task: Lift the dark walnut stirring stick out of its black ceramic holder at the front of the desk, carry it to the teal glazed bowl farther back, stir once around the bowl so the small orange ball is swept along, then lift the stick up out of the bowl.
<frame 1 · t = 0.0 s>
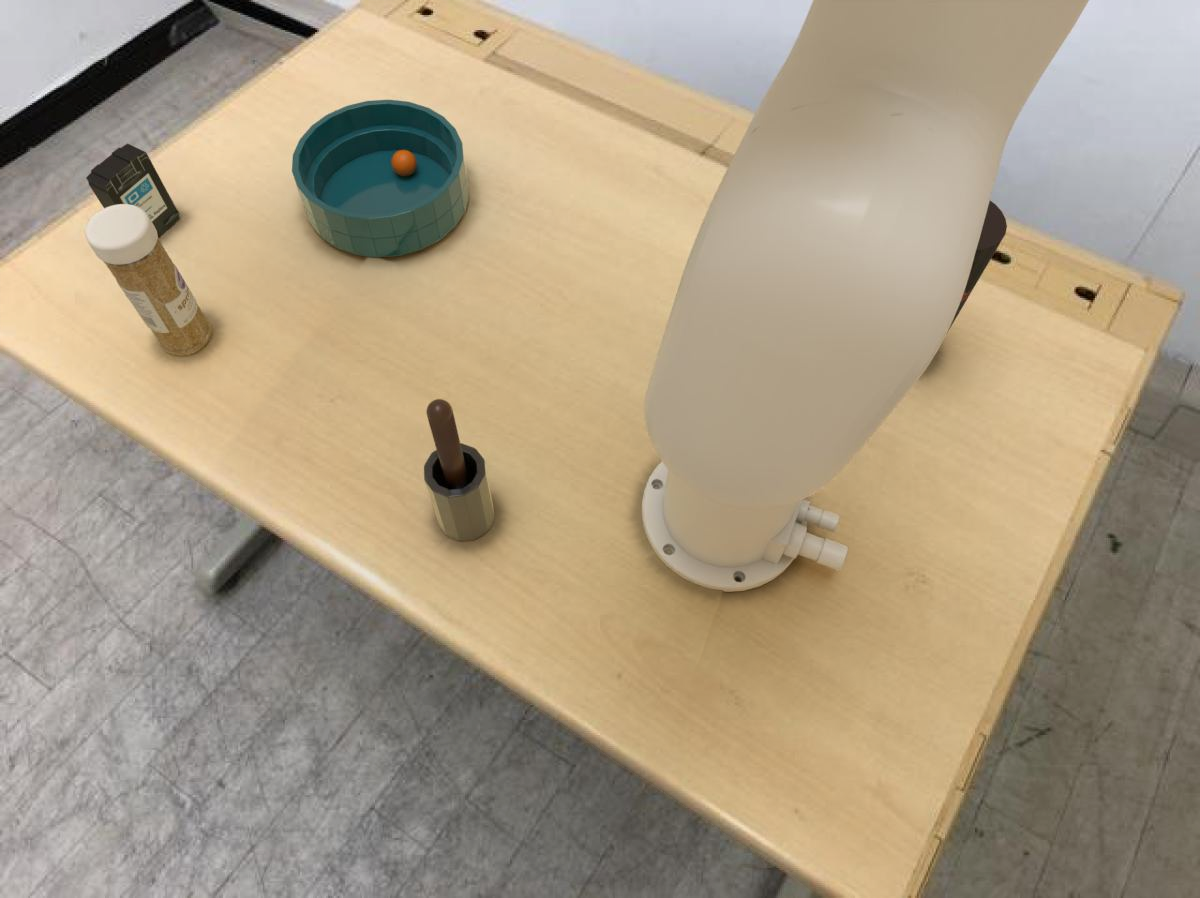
sprinkles bottle: (187, 337, 76), on the table
bowl: (389, 201, 84), on the table
holder: (467, 519, 68), on the table
deodorant: (899, 344, 77), on the table
ink cartridge: (155, 231, 82), on the table
stick: (466, 515, 67), point 1 cm above the table, touching holder
ball: (404, 163, 84), point 2 cm above the table, touching bowl
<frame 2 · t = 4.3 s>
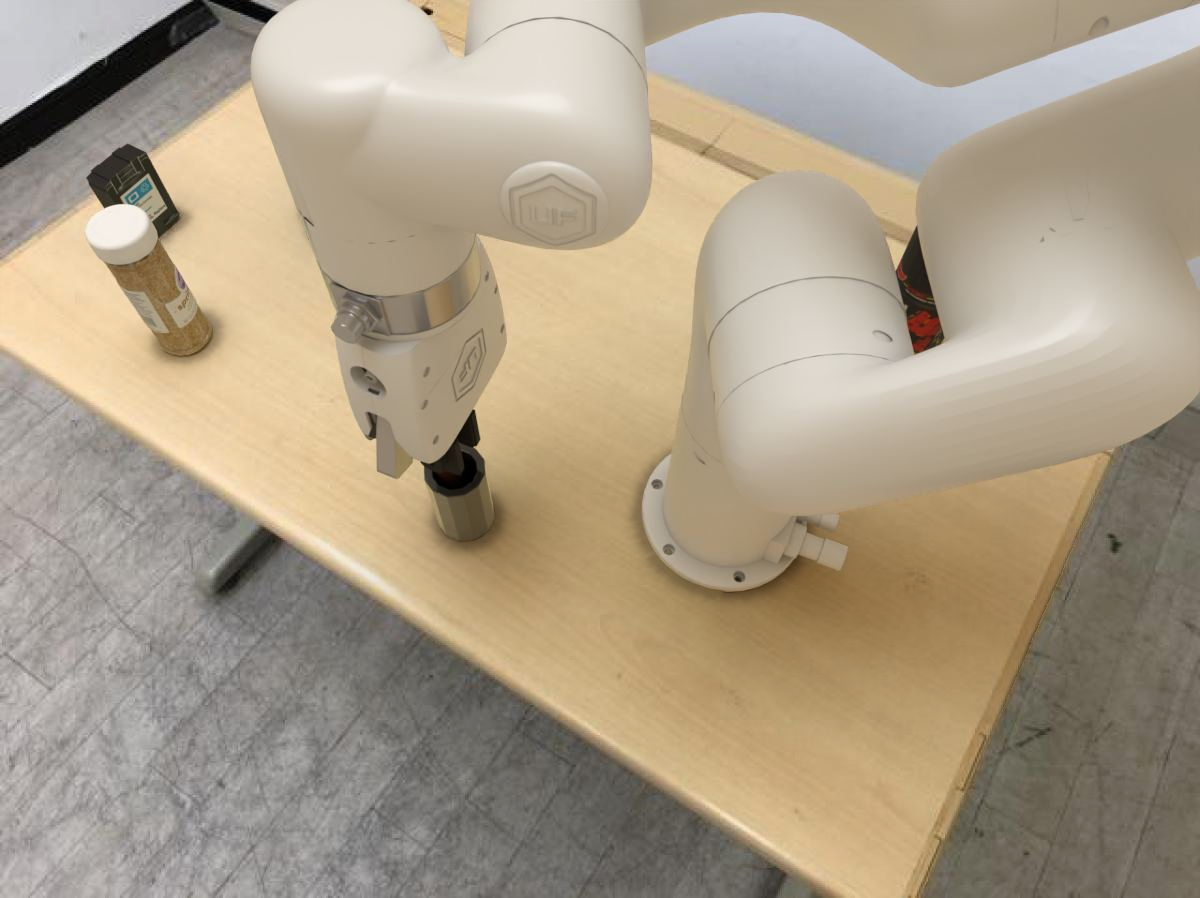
hand: (449, 449, 59), 11 cm above the table, tool pointing down, fingers closed on stick, 1 cm apart
stick: (466, 515, 67), point 1 cm above the table, tilted 5°, touching gripper, holder
everything else where it was.
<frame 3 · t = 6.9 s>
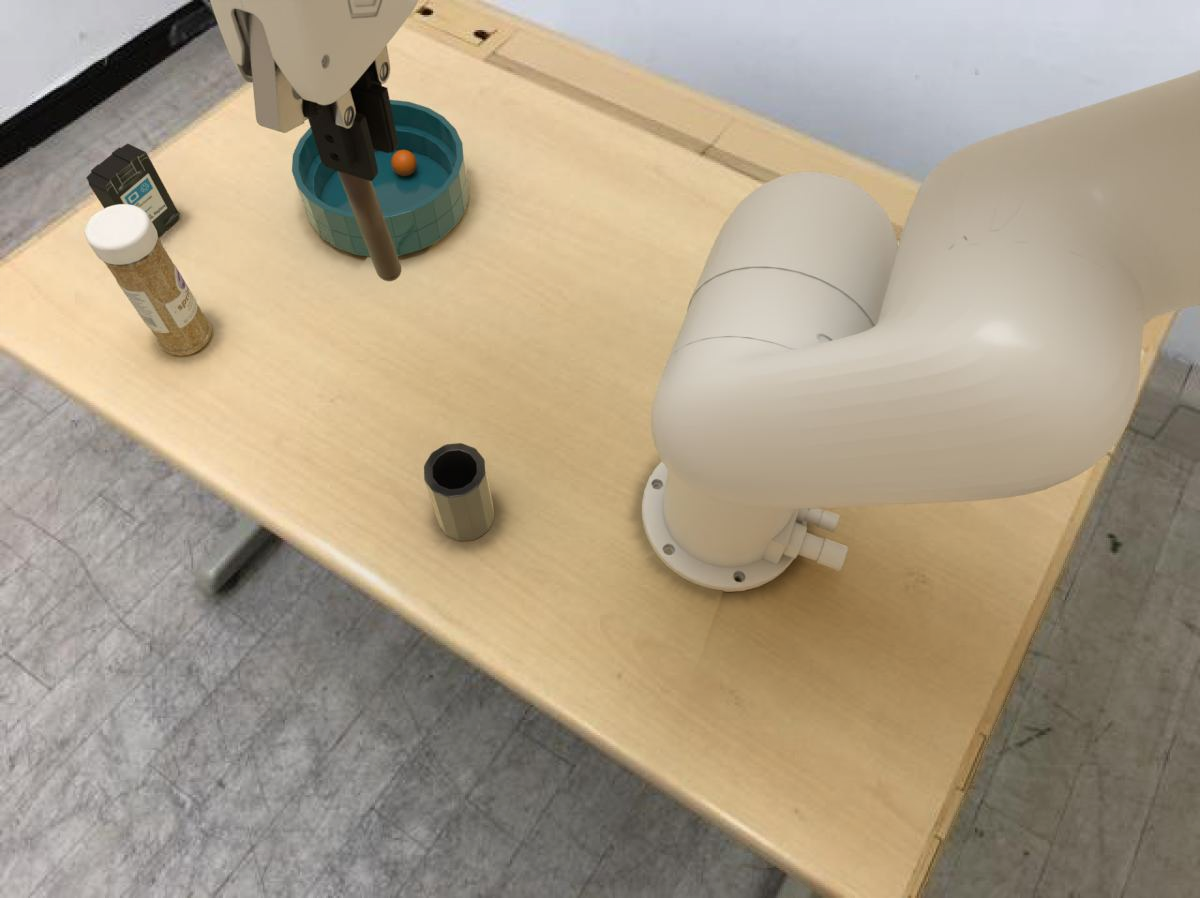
hand: (361, 155, 49), 27 cm above the table, tool pointing down, fingers closed on stick, 1 cm apart
stick: (391, 277, 57), point 17 cm above the table, touching gripper
everything else where it was.
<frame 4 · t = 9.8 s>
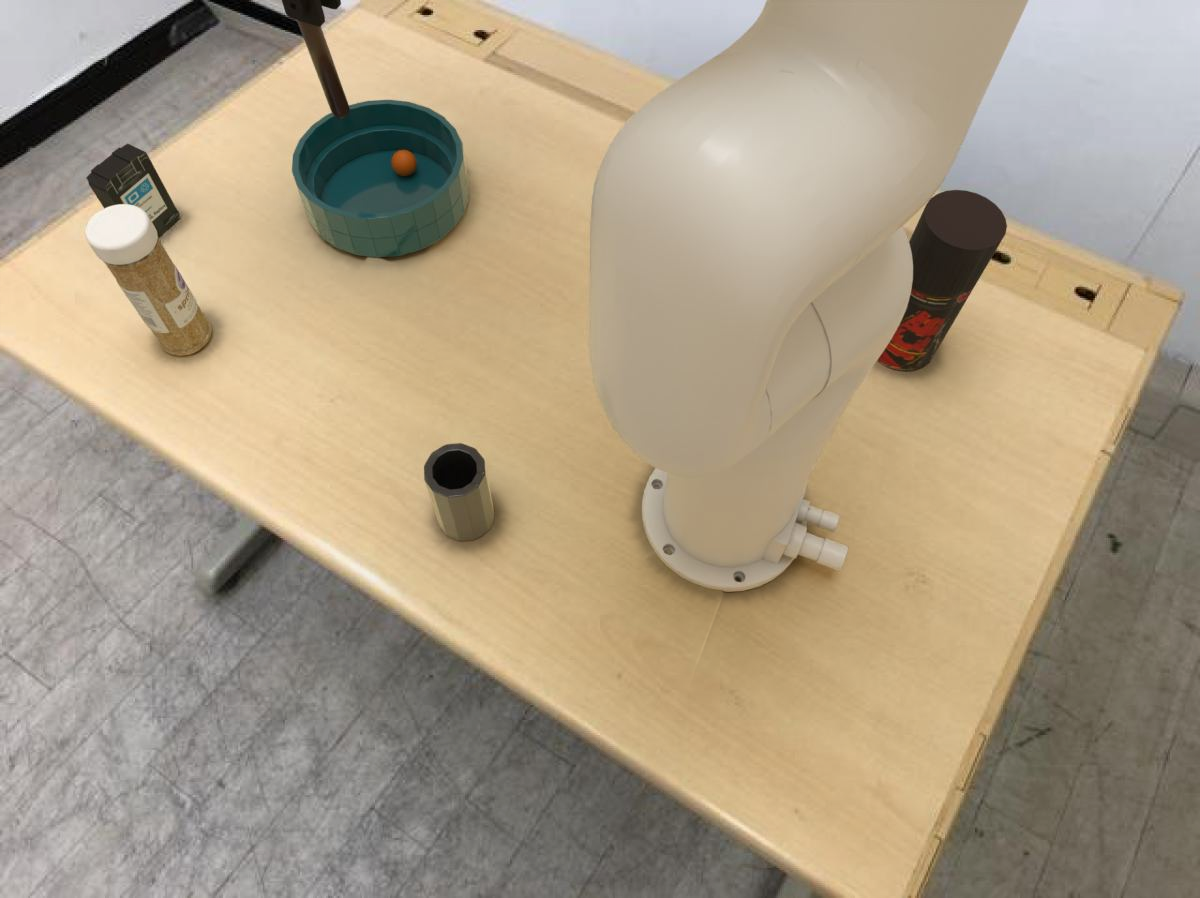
hand: (314, 10, 69), 19 cm above the table, tool pointing down, fingers closed on stick, 1 cm apart
stick: (342, 116, 77), point 9 cm above the table, touching gripper
everything else where it was.
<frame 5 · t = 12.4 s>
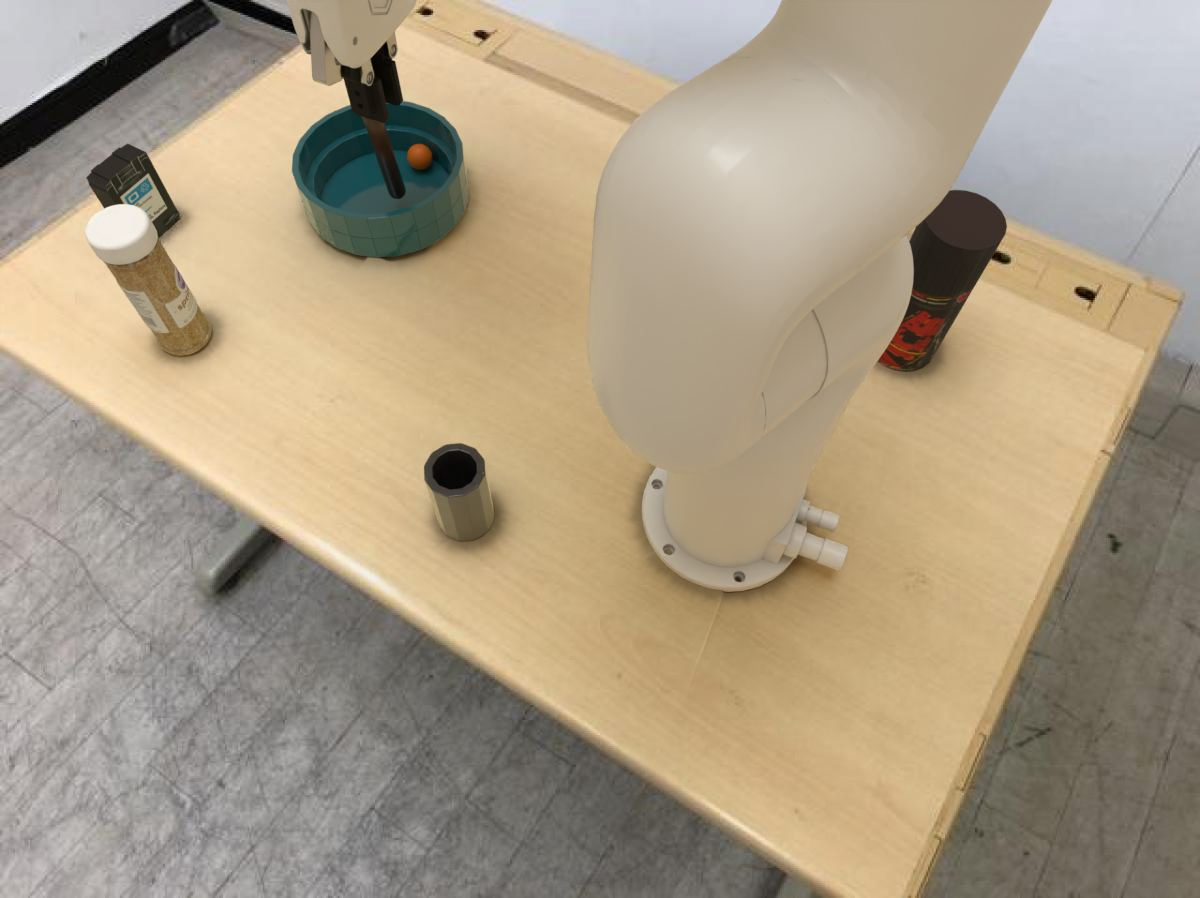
hand: (378, 106, 73), 12 cm above the table, tool pointing down, fingers closed on stick, 1 cm apart
stick: (399, 197, 82), point 2 cm above the table, tilted 5°, touching gripper
ball: (419, 157, 85), point 2 cm above the table, tilted 79°, touching bowl
everything else where it was.
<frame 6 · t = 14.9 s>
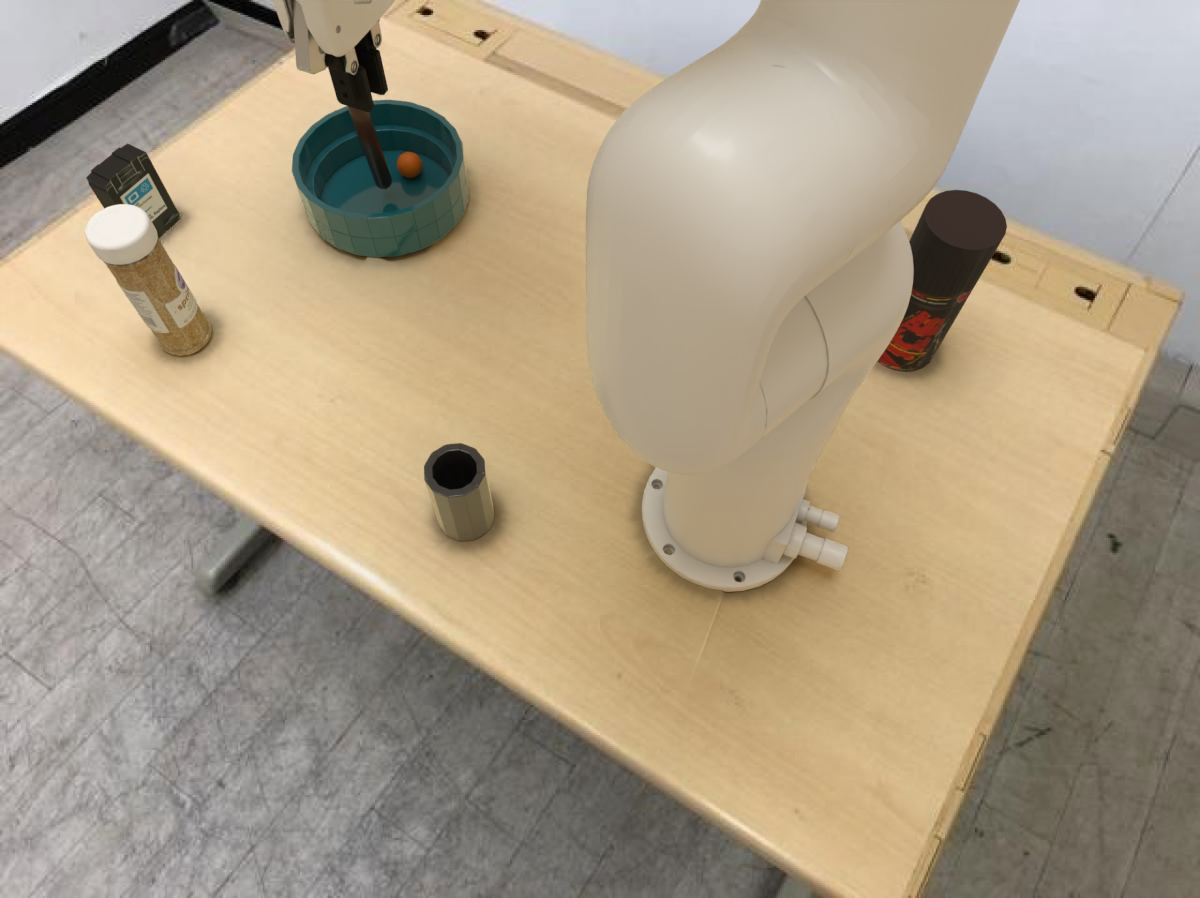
hand: (363, 96, 74), 12 cm above the table, tool pointing down, fingers closed on stick, 1 cm apart
stick: (385, 187, 83), point 2 cm above the table, tilted 5°, touching gripper
ball: (409, 165, 84), point 2 cm above the table, tilted 22°, touching bowl
everything else where it was.
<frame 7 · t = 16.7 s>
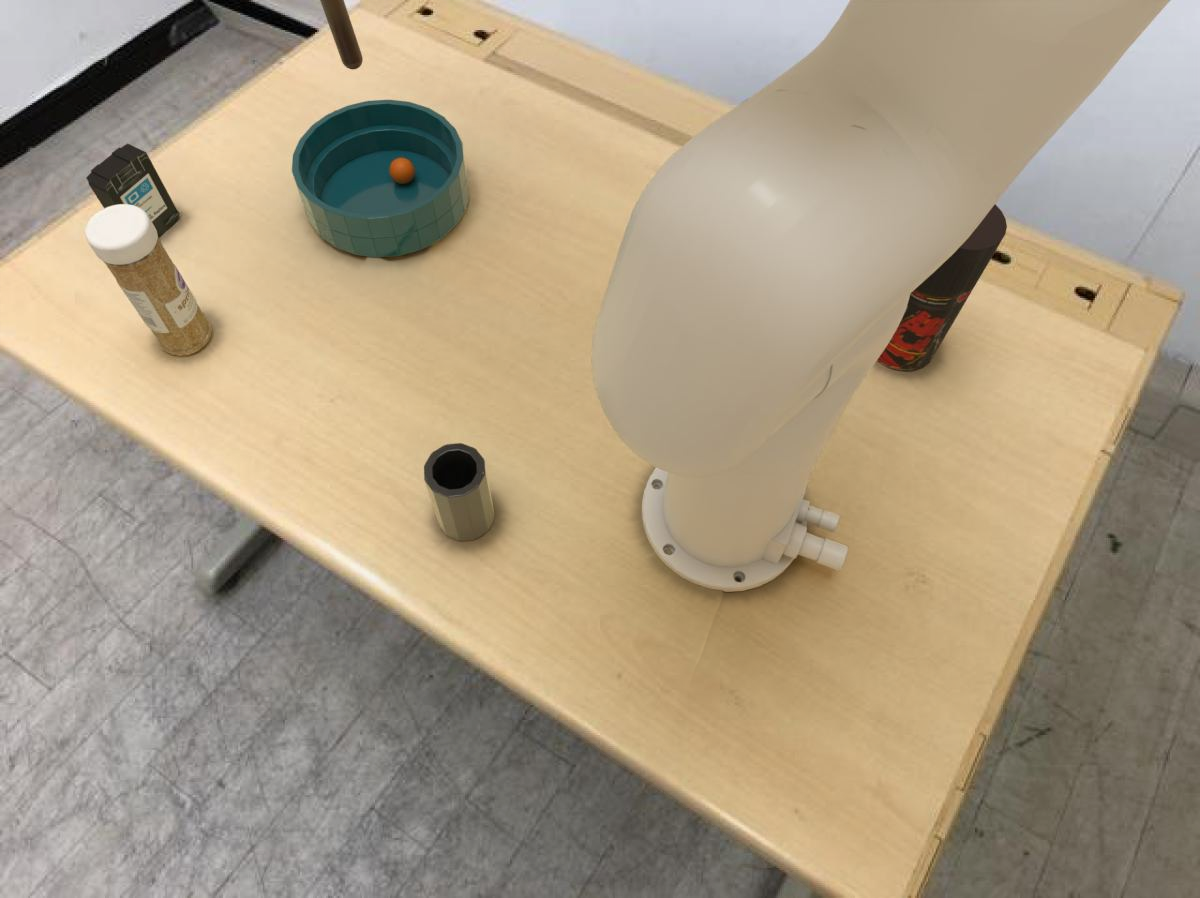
stick: (355, 67, 68), point 17 cm above the table, tilted 6°, touching gripper
ball: (402, 170, 84), point 2 cm above the table, tilted 41°, touching bowl
everything else where it was.
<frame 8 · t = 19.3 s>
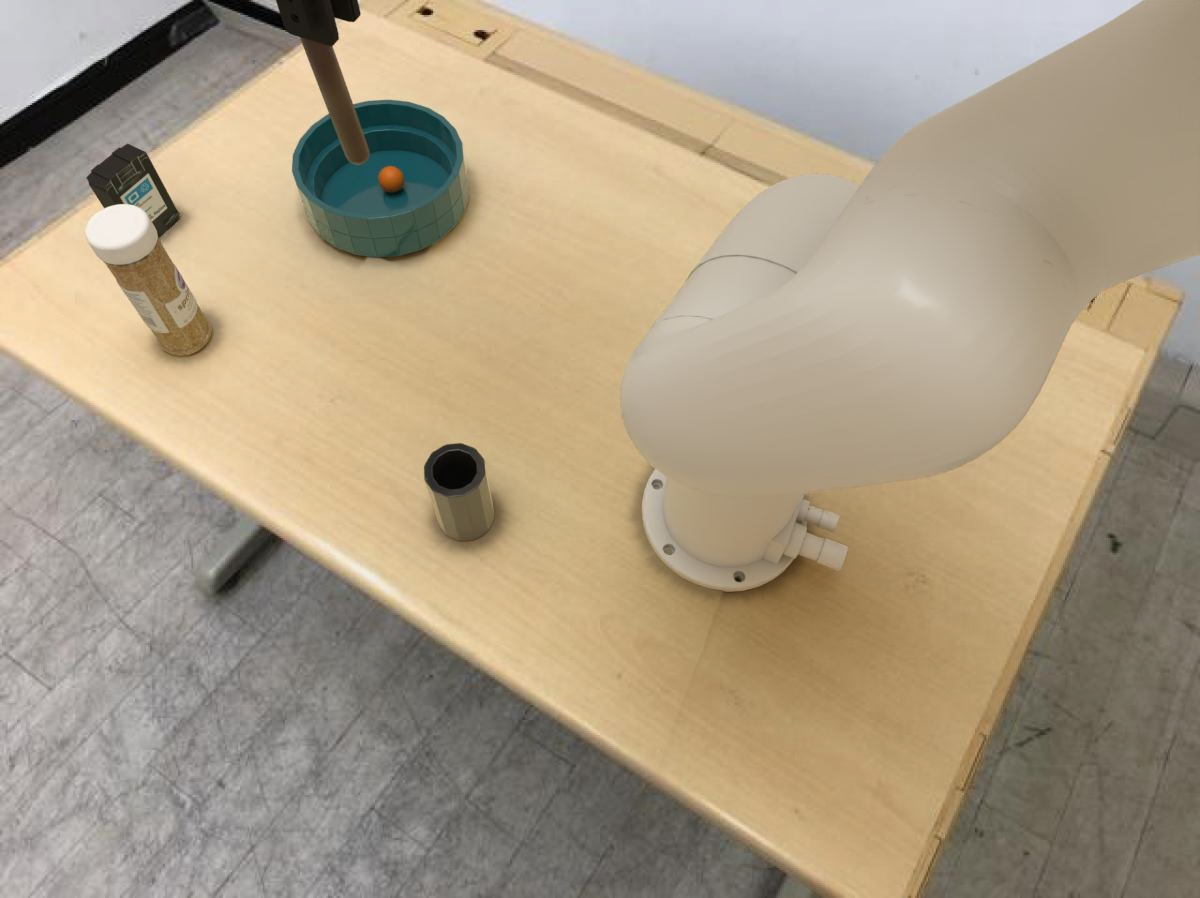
hand: (323, 23, 50), 30 cm above the table, tool pointing down, fingers closed on stick, 1 cm apart
stick: (360, 161, 59), point 20 cm above the table, tilted 5°, touching gripper
ball: (391, 179, 83), point 2 cm above the table, tilted 106°, touching bowl
everything else where it was.
at the end: ball moved 2.5 cm from its start; ball inside the target area in the bowl (1.0 cm from its centre), point 1.8 cm above the bowl's base; stick inside the target area (0.1 cm from its centre), point 20.0 cm above the table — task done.
